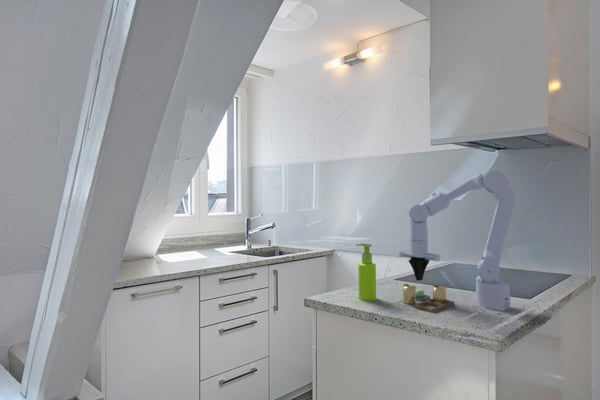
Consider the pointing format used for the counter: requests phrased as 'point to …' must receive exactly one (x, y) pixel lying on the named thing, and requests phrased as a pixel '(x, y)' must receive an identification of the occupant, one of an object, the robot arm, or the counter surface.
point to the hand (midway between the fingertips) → (419, 279)
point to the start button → (420, 293)
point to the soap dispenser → (367, 275)
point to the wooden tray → (433, 305)
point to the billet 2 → (439, 294)
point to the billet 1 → (409, 294)
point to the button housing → (423, 298)
